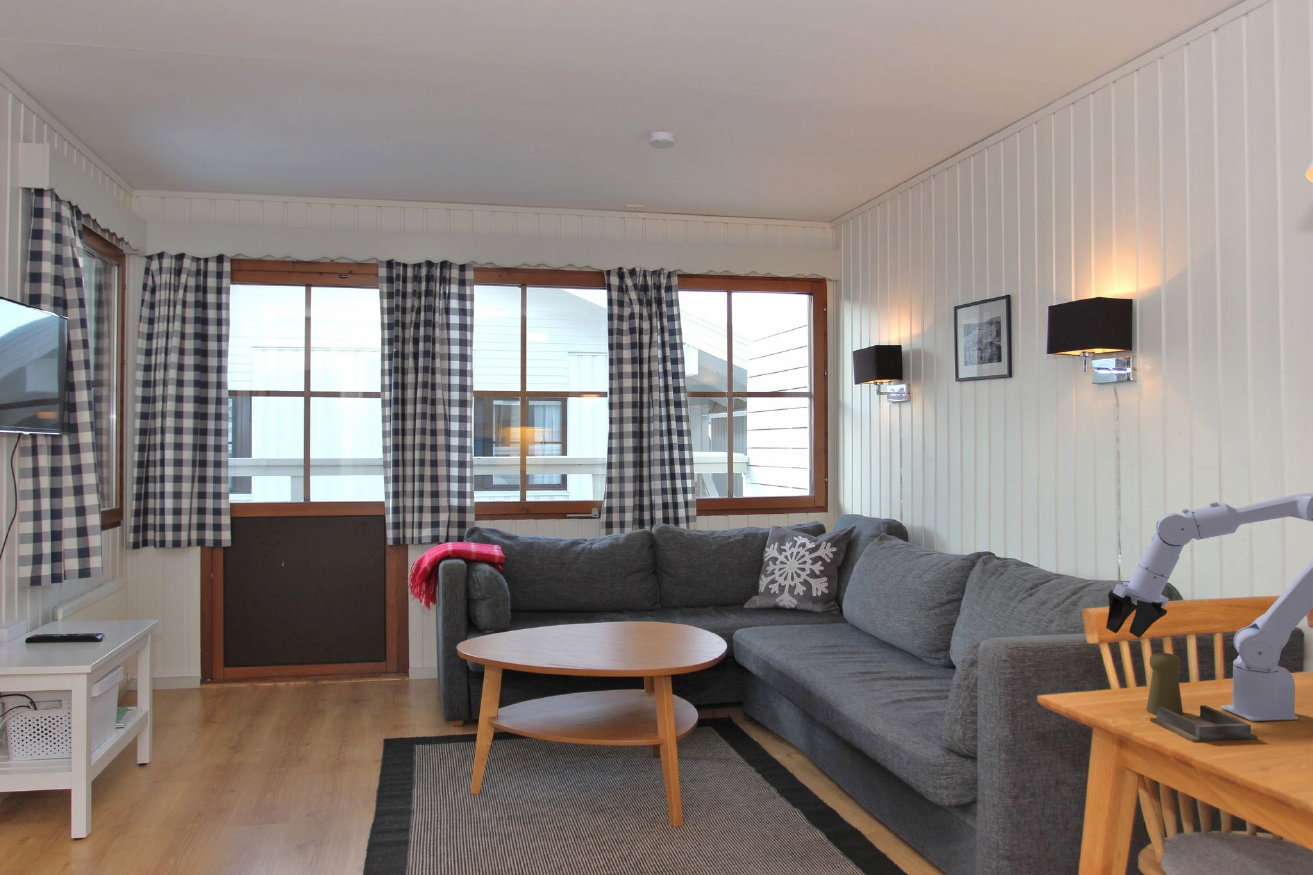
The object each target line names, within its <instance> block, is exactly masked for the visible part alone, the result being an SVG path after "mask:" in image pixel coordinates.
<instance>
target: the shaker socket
mask: <svg viewBox="0 0 1313 875" xmlns="http://www.w3.org/2000/svg"><path fill="white" fill-rule="evenodd" d="M1149 721H1151V723H1154V724H1156V725H1158V726H1160V727H1163V728H1164V729H1166V730H1168V731H1170V732H1172V733H1174V734H1177V735H1178V736H1180V737H1182V738H1184V739H1186V740H1188V741H1189V742H1194V743H1195V742H1196V743H1197V742H1200V743H1201V742H1222V741H1223V742H1224V741H1251V740H1253V741H1254V740H1258V736H1257V735H1255V734H1252V733H1251V732H1252V731H1251V730H1252V725H1251V724H1249V723H1247V722H1245V721H1242V720H1241V719H1238V718H1235V717H1233V716H1231V715H1228V714H1226V713H1223V712H1221V711H1219V710H1217V709H1214V708H1212V707H1210V706H1208V705H1205V704H1204V705H1200V706H1199V716H1184V715H1183V716H1181V715H1179V714H1177V713H1174V712H1172V711H1170V710H1168V709H1166V708H1164V707H1157V715H1156V717H1150V720H1149Z"/></svg>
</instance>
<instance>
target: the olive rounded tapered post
mask: <svg viewBox="0 0 1313 875" xmlns="http://www.w3.org/2000/svg"><path fill="white" fill-rule="evenodd" d="M1149 665H1150V668H1151V670H1152V673H1151V679H1150V687H1149V692H1148V696H1147V697H1148V698H1147V703H1146V711H1147V712H1148V713H1149V714H1151V715H1155V716H1157V707H1164V708H1166V709H1168V710H1170V711H1172V712H1174V713H1177V714H1179V715H1181V716H1182V715H1183V716H1184V712H1183V710H1184V709H1183V704H1182V695H1181V688H1180V680H1179V672H1180V670H1181V668H1182V661H1181V659H1180V657H1179V656H1177V655H1176V654H1173V653H1169V652H1154V653H1152V654H1151V656H1150V657H1149Z"/></svg>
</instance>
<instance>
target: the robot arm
mask: <svg viewBox="0 0 1313 875" xmlns="http://www.w3.org/2000/svg"><path fill="white" fill-rule="evenodd" d="M1181 513H1182V514H1180V513H1176V512H1171V513H1167V514H1164V515H1163V516H1162V517H1160V519H1159V520H1157V522H1156V525H1155V529H1156V532H1155V533H1154V534H1153V535H1152V537H1151V540H1150V543H1148V544H1147V546H1146V548H1145V550H1144V552H1143V554H1142V556H1141V558H1140V561H1139V562H1138V563H1137V566H1136V569H1135V570H1134V572H1133V574H1132V577H1131V579H1130V580H1129V582H1128V581H1127V582H1126V581H1124V582H1123V583H1122V584H1120V583H1116V585H1115V587H1114V589H1113V590H1109V592H1108V593H1107V595H1108V596H1107V597H1108V616H1107V620H1106V626H1105V628H1106V629H1108V630H1109V631H1111V632H1113V633H1114V634H1117V633H1118V632H1119V631H1120V630H1121V628H1122V626H1123V625H1124V624H1125V622H1126V620H1127V619H1128V618H1129V617H1130V616H1131V614H1133V612H1135V614H1134V616H1133V619H1132V622H1131V625H1130V627H1129V631H1128V633H1130V634H1131V635H1133V636H1134V637H1136V638H1141V637H1142V636H1143V634H1145V632H1146V631H1147V630H1148V629H1149V628H1151V626H1152V625H1153V624H1154V623H1156V622H1157V621H1158V620H1159V619H1161V618H1163V617H1164V616H1166V615H1167V613H1168V610H1167V609H1165V607H1167V604H1168V602H1169V600H1170V598H1169V597H1167V596H1165V595H1163V594H1162V592H1163V591H1164V589H1165V587H1166V585H1167V584H1168V581H1169V578H1170V576H1171V575H1172V573H1173V571H1174V569H1175V567H1176V565H1177V563H1178V560H1179V559H1180V554H1181V552H1182V550H1183V548H1184V546H1185V545H1188V544H1189V543H1190V542H1191V541H1192V540H1193V539H1195V540H1197V541H1199V540H1204V539H1209V538H1214V537H1221V536H1225V535H1231V534H1235V533H1236V531H1237V530H1238V528H1239V527H1240V526H1241V525H1245V524H1252V523H1257V522H1264V521H1269V520H1277V519H1282V518H1283V519H1284V518H1288V517H1289V518H1291V517H1292V518H1296V519H1300V520H1303V521H1304V520H1305V521H1308V522H1313V492H1309V493H1308V492H1307V493H1299V494H1291V495H1286V496H1282V497H1278V498H1274V499H1269V500H1266V501H1261V502H1256V503H1252V504H1248V505H1244V506H1240V507H1233V506H1230V505H1229V504H1227V503H1220V504H1219V503H1218V502H1217V501H1213V502H1209V506H1204V507H1201V508H1195V509H1190V510H1189V509H1188V508H1183V509H1181ZM1133 600H1136V603H1133ZM1312 609H1313V558H1312V559H1311V561H1310V562H1309V563H1308V564H1307V565H1306V566H1305V567H1304V568H1303V569H1302V571H1301V572H1300V573H1299V574H1298V575H1297V576H1296V577H1295V579H1294V580H1292V582H1291V583H1290V584H1289V586H1287V588H1286V589H1285V590H1284V591H1283V592H1282V593H1281V595H1280V596H1279V597H1278V598H1277V599H1276V600H1275V601H1274V602H1273V604H1272V605H1271V606H1270V607H1269V608H1268V609H1267V610H1266V612H1265V613H1263V614H1261V615H1260V616H1258V617H1257V618H1256V619H1255V620H1254V621H1253V622H1252V623H1251V624H1250V625H1247V626H1244V627H1242V628H1240V629H1239V630H1237V632H1235V634H1234V636H1233V647H1234V648H1235V649H1234V650H1236V651H1237V653H1238V654H1239V655H1237V658H1235V659H1233V661H1232V704H1224V705H1223V704H1221V706H1220V708H1221V709H1223V710H1226V711H1228V712H1229V713H1233V714H1235V715H1237V716H1239V717H1242V718H1244V719H1247V720H1249V721H1253V722H1259V721H1260V722H1261V721H1264V722H1265V721H1286V720H1287V721H1293V720H1294V721H1295V720H1298V719H1299V717H1298V716H1297V715H1295V714H1296V709H1295V708H1296V705H1295V704H1296V682H1295V679H1294V676H1293V675H1292V673H1291V672H1290V671H1289V670H1288V669H1287V668H1285V667H1283V666H1279V664H1278V663H1279V661H1280V658H1281V652H1282V651H1283V650H1282V649H1284V647H1285V646H1286V645H1287V644H1288V642H1289V639H1290V636H1291V634H1292V632H1293V631H1294V629H1295V628H1296V627H1297V626H1299V624H1300V623H1301V621H1302V620H1303V619H1304V618H1305V617H1306V616H1307V615H1308V614H1309V613H1310V612H1311V610H1312Z"/></svg>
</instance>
